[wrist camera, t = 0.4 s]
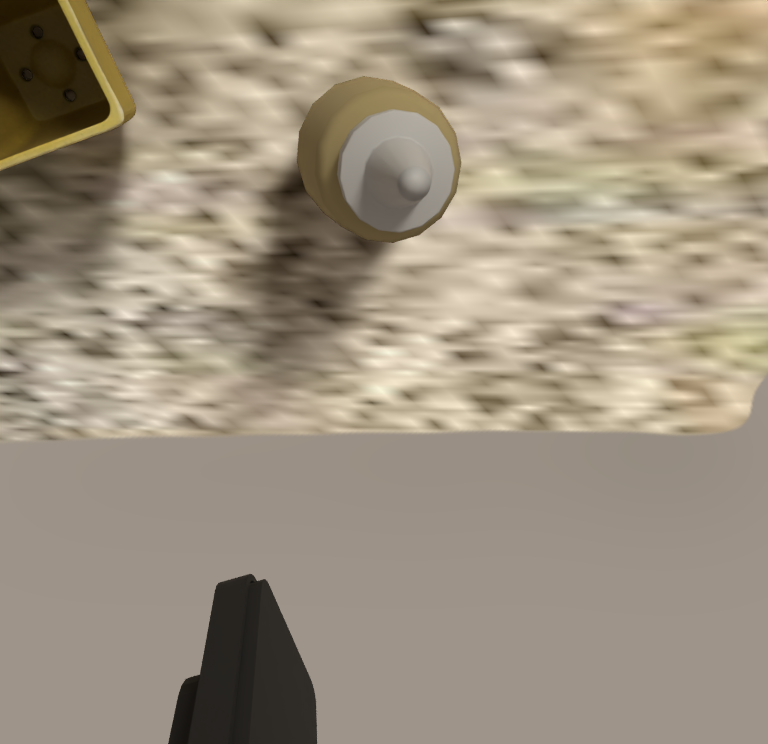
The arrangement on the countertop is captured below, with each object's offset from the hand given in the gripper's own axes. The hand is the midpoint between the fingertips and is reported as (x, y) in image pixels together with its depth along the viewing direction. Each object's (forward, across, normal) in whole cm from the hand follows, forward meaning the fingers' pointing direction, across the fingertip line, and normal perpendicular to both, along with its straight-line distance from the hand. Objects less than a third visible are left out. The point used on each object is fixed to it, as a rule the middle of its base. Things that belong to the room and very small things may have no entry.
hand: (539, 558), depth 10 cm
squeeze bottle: (+31, -1, -5) cm, 31 cm away
